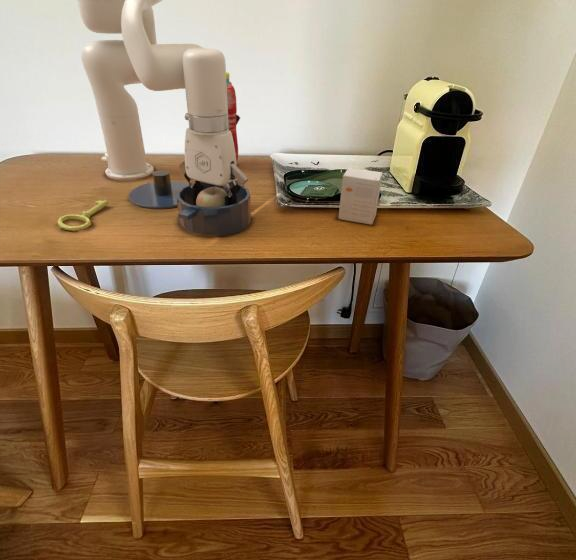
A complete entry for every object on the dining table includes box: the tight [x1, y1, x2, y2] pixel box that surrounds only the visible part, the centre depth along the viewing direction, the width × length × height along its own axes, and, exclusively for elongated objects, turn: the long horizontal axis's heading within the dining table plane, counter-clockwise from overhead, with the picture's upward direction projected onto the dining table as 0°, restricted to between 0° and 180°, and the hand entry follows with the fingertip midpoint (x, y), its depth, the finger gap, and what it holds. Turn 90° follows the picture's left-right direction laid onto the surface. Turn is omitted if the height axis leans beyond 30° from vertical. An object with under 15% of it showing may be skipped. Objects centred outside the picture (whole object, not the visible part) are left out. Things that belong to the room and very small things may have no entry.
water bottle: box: [226, 71, 241, 163], centre depth 112 cm, size 12×8×25 cm, turn 167°
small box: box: [337, 167, 383, 225], centre depth 89 cm, size 8×6×10 cm
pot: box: [177, 180, 252, 238], centre depth 86 cm, size 15×21×6 cm
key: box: [57, 199, 110, 232], centre depth 86 cm, size 7×12×2 cm, turn 177°
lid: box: [128, 169, 189, 210], centre depth 96 cm, size 16×16×6 cm
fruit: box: [196, 185, 227, 207], centre depth 86 cm, size 8×7×8 cm
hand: (215, 207), depth 86 cm, fingers closed on fruit, 7 cm apart
